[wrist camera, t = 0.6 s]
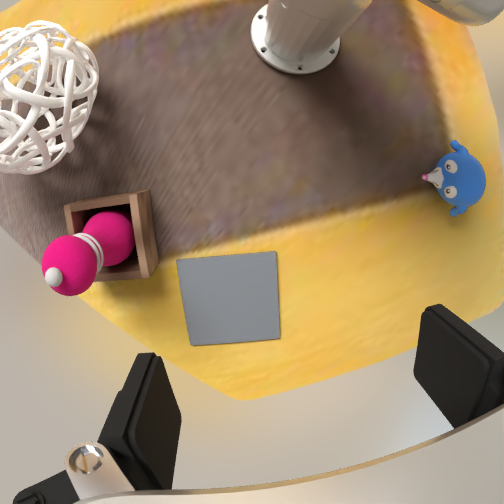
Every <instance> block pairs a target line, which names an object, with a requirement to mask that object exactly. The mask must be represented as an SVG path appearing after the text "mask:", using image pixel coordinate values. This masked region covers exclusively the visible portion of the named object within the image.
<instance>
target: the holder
mask: <svg viewBox="0 0 504 504" xmlns="http://www.w3.org/2000/svg"><path fill="white" fill-rule="evenodd" d="M128 203H130V207H131V215H132V222H133V229H134V235H135V242H136V248H137V254H138V258H135V259H125V260H124V261H122V262H121V263H119V264H117V265H113V266H102V268H101V270H100V271H99V272H98V273H97V274H96V277H95V280H94V281H93V282H97V281H112V280H126V279H140V278H149V277H150V276H151V274H152V273H153V272H154V270H155V269H156V267H157V266H158V264H159V258H158V252H157V245H156V239H155V232H154V224H153V217H152V209H151V201H150V192H149V190H142V191H134V192H127V193H121V194H114V195H107V196H101V197H95V198H89V199H83V200H80V201H76V202H73V203H70V204H67V205H64V212H65V218H66V224H67V230H68V235H72V236H73V235H74V234H78V233H82V232H83V229H84V227H85V225H86V224H87V222H88V221H89V220H90V219H91V212H90V209H93V208H100V207H107V206H114V205H121V204H128Z"/></svg>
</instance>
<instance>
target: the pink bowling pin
mask: <svg viewBox="0 0 504 504" xmlns="http://www.w3.org/2000/svg"><path fill="white" fill-rule="evenodd" d="M135 245H136V242H135V235H134V229H133V222H132V215H131V214H130V213H128V212H127V211H124V210H113V211H109V210H107V211H102V212H99V213H97V214H96V215H94V216H93V217H92V218H91V219H90V220H89V221H88V222H87V224H86V225H85V227H84V229H83V232H82V233H78V234H74V235H73V236H72V235H65V236H61V237H59V238H57V239H55V240H54V241H52V242H51V243H50V244H49V246H48V247H47V249H46V250H45V252H44V255H43V258H42V271H43V275H44V277H45V281H46V283H47V284H48V285H49V286H50V287H51V288H52V289H53V290H55V291H56V292H58V293H59V294H62V295H65V296H74V295H79V294H81V293H83V292H84V291H86V290H87V289H88V288H89V287H90V286H91V285H92V283H93V281H94V280H95V277H96V274H97V273H98V272H99V271H100V270H101V268H102V266H113V265H117V264H119V263H121V262H122V261H124V260H125V259H126V258H127V257H128V256H129V255H130V254H131V252H132V250H133V247H134V246H135Z"/></svg>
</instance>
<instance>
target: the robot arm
mask: <svg viewBox="0 0 504 504" xmlns="http://www.w3.org/2000/svg"><path fill="white" fill-rule="evenodd" d="M418 1H420V2H421V3H423V4H425V5H427V6H428V7H430V8H432V9H433V10H435V11H437V12H438V13H440V14H442V15H444V16H445V17H447V18H449V19H451V20H453V21H455V22H457V23H459V24H462V25H466V26H479V25H483V24H486V23H488V22H490V21H491V20H493V19H494V18H495V17H497V16H498V15H499V14H500V13H501V12H502V11H503V10H504V0H418ZM371 2H372V0H269V2H268V4H267V5H265V6H264V7H262V8H261V9H260V10H259V11H258V12H257V13H256V15H255V17H254V19H253V21H252V25H251V31H250V34H251V41H252V44H253V47H254V49H255V50H256V52H257V54H258V55H259V56H260V57H261V58H262V59H263V60H264V61H265V62H266V63H268V64H269V65H270V66H272V67H274V68H276V69H278V70H280V71H283V72H286V73H291V74H310V73H314V72H317V71H319V70H321V69H323V68H325V67H326V66H327V65H329V64H330V63H331V62H332V61H333V59H334V58H335V57H336V55H337V53H338V50H339V47H340V36H341V35H342V33H343V32H344V31H345V30H346V29H347V28H348V27H349V26H350V25H351V24H352V23H353V22H354V21H355V20H356V19H357V18H358V17H359V16H360V15H361V14H362V13H363V12H364V11H365V10H366V8H367V7H368V6H369V5H370V4H371ZM259 18H261V20H260V19H259ZM261 51H265V53H262V52H261ZM330 52H331V53H332V54H331V53H330ZM298 68H301V70H299V69H298ZM414 376H415V378H416V380H417V381H418V382H419V384H420V385H421V386H422V387H423V388H424V390H425V391H426V393H427V394H428V395H429V396H430V398H431V399H432V400H433V401H434V403H435V404H436V405H437V407H438V408H439V409H440V411H441V412H442V413H443V415H444V416H445V417H446V418H447V420H448V421H449V422H450V424H451V425H452V426H453V427H454V429H453V430H451V431H449V432H447V433H444V434H442V435H440V436H438V437H435V438H433V439H430V440H428V441H426V442H423V443H420V444H418V445H416V446H413V447H410V448H407V449H405V450H402V451H399V452H397V453H393V454H390V455H388V456H384V457H381V458H379V459H375V460H372V461H369V462H365V463H362V464H358V465H355V466H351V467H347V468H344V469H339V470H336V471H332V472H327V473H323V474H318V475H313V476H309V477H303V478H298V479H292V480H287V481H280V482H273V483H266V484H258V485H249V486H240V487H226V488H212V489H188V490H172V482H173V475H174V467H175V461H176V454H177V447H178V440H179V434H180V427H181V413H180V410H179V407H178V405H177V402H176V399H175V396H174V394H173V390H172V388H171V385H170V382H169V379H168V376H167V373H166V370H165V367H164V363H163V360H162V358H161V357H160V356H156V354H155V353H154V352H153V353H139V354H138V355H137V357H136V359H135V361H134V363H133V366H132V368H131V370H130V372H129V375H128V377H127V379H126V382H125V384H124V386H123V389H122V390H121V391H119V392H118V394H117V396H116V398H115V400H114V403H113V405H112V407H111V410H110V412H109V414H108V417H107V419H106V422H105V424H104V427H103V429H102V431H101V434H100V436H99V439H98V441H97V443H96V442H84V443H81V444H78V445H77V446H75V447H73V448H72V449H71V450H70V451H69V452H68V453H67V455H66V457H65V461H64V465H65V469H66V470H64V471H62V472H60V473H58V474H56V475H54V476H52V477H50V478H48V479H46V480H43V481H41V482H39V483H37V484H35V485H33V486H31V487H28V488H26V489H24V490H22V491H21V492H19V493H18V494H17V495H16V496H15V498H14V500H13V504H504V352H502V351H501V350H500V349H499V348H497V347H496V346H495V345H494V344H492V343H491V342H490V341H489V340H487V339H486V338H485V337H483V336H482V335H481V334H480V333H478V332H477V331H476V330H475V329H473V328H472V327H471V326H469V325H468V324H467V323H466V322H464V321H463V320H462V319H460V318H459V317H458V316H456V315H455V314H454V313H452V312H451V311H450V310H448V309H447V308H446V307H444V306H443V305H442V304H436V305H433V306H429V307H427V308H426V309H425V311H424V312H423V313H422V315H421V323H420V331H419V339H418V346H417V352H416V358H415V365H414Z"/></svg>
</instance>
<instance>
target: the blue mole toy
mask: <svg viewBox="0 0 504 504" xmlns="http://www.w3.org/2000/svg"><path fill="white" fill-rule="evenodd" d="M450 144H451V147H452V148H453V149H454V150H455V151H456V152H453V153H449V154H446V155H445V156H443V157H442V158H441V159H440V161H439V162H438V164H437V166H436V168H435V169H434V170H433V171H432V172H431V173H429V174H423V175H422V179H423V180H428V181H430V182H431V183H433V184H434V185H435V187H436V189H437V191H438V193H439V194H440V196H441V197H442V198H443V199H444V200H445V201H446V202H447V203H449V204H451V205H454V206H455V207H454V208H452V209H451V210H450V212H449V213H450V215H451V216H452V217H455V216H457V215H458V214H462V213H464V212H465V211H466V209H467V207H468V206H471V205H473V204H475V203H476V202H478V201H479V200H480V198H481V197H482V195H483V193H484V190H485V185H486V178H485V173H484V170H483V167H482V166H481V164H480V163H479V161H478V160H477V159H476V158H474V157H473V156H472V155H470V154H469V153H468V151H467V149H466V148H465V147H464V146H462V145H460V144H459V143H458V142H457V141H456V140H453V141H451V143H450Z"/></svg>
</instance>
